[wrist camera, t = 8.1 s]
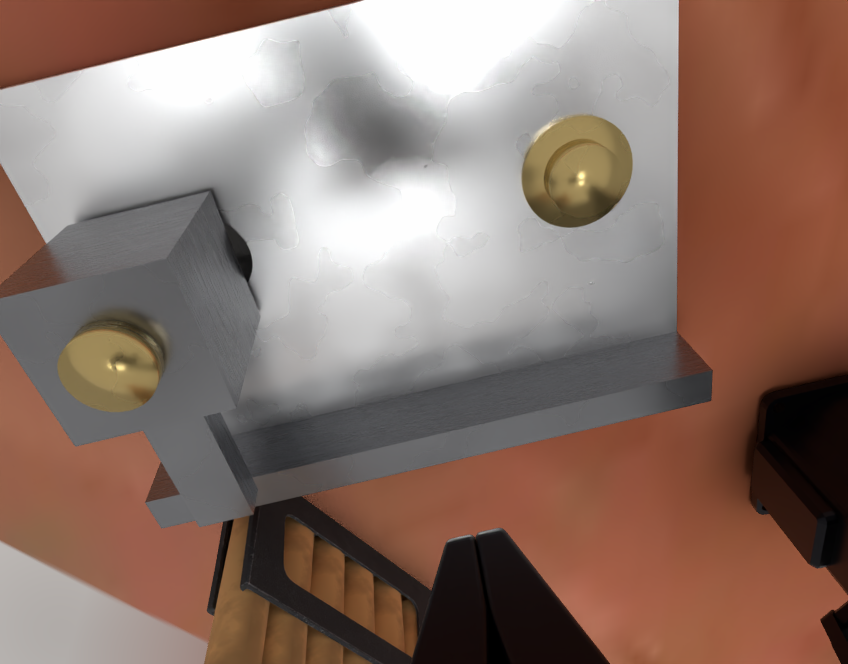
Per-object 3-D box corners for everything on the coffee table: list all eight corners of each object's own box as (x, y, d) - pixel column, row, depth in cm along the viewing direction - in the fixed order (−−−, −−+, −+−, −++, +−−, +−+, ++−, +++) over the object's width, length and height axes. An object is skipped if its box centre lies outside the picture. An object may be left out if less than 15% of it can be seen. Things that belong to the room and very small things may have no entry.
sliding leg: (209, 190, 17) (158, 270, 12) (303, 421, 21) (289, 544, 16) (67, 225, 17) (-37, 317, 12) (188, 448, 21) (144, 577, 16)
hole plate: (660, -74, 16) (732, -86, 13) (664, 344, 22) (711, 400, 19) (-16, 92, 16) (-98, 118, 13) (185, 457, 23) (161, 528, 20)
